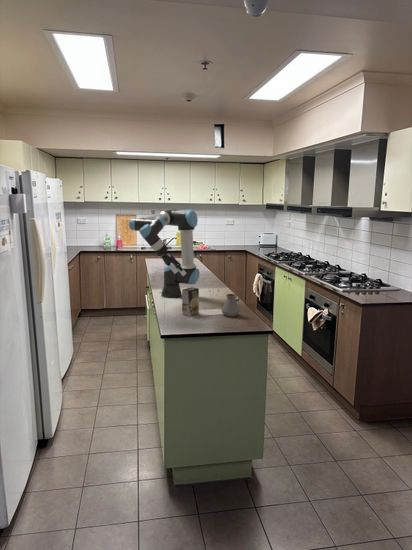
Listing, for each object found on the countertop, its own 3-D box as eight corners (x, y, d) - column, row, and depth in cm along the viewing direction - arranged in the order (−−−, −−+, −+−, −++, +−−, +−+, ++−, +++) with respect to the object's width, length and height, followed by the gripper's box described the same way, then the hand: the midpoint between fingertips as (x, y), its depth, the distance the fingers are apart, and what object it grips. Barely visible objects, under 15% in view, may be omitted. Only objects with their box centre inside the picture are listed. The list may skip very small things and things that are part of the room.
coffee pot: (219, 312, 255) (220, 289, 251) (236, 311, 258) (237, 289, 254) (228, 323, 235) (230, 299, 231) (246, 323, 238) (248, 299, 234)
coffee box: (189, 316, 245) (189, 291, 242) (182, 314, 249) (181, 289, 246) (199, 312, 252) (199, 288, 249) (191, 311, 256) (191, 286, 253)
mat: (195, 310, 258) (195, 310, 258) (221, 309, 264) (221, 308, 264) (201, 316, 247) (201, 315, 247) (228, 314, 253) (228, 313, 253)
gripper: (148, 250, 248) (168, 275, 255) (162, 252, 225) (184, 279, 233) (157, 242, 250) (177, 267, 257) (171, 243, 227) (193, 271, 235)
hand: (180, 273), depth 245 cm, fingers open, 13 cm apart
